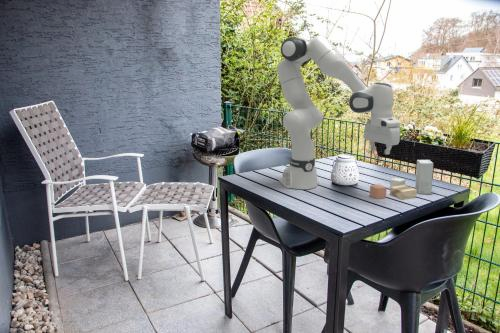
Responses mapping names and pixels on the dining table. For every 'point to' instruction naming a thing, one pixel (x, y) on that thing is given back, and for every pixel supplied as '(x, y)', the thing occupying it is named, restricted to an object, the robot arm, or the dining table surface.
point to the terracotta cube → (378, 191)
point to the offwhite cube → (397, 182)
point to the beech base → (403, 192)
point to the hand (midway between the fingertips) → (380, 152)
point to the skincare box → (424, 176)
